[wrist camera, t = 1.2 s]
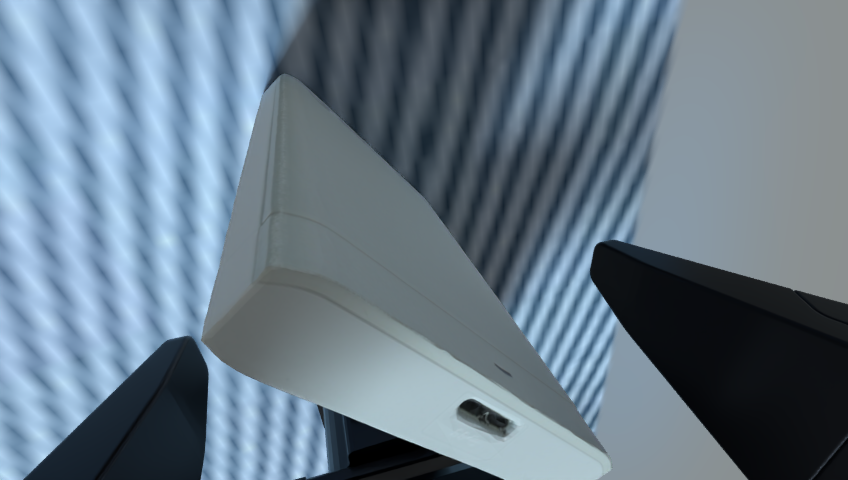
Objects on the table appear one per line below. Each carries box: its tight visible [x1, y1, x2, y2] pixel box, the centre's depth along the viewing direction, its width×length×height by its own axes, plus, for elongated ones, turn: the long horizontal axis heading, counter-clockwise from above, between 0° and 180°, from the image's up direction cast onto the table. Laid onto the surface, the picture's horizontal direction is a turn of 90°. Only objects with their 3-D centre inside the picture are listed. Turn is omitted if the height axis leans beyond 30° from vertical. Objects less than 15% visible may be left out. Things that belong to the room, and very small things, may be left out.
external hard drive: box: [201, 74, 612, 480], centre depth 11 cm, size 2×8×12 cm, turn 41°
